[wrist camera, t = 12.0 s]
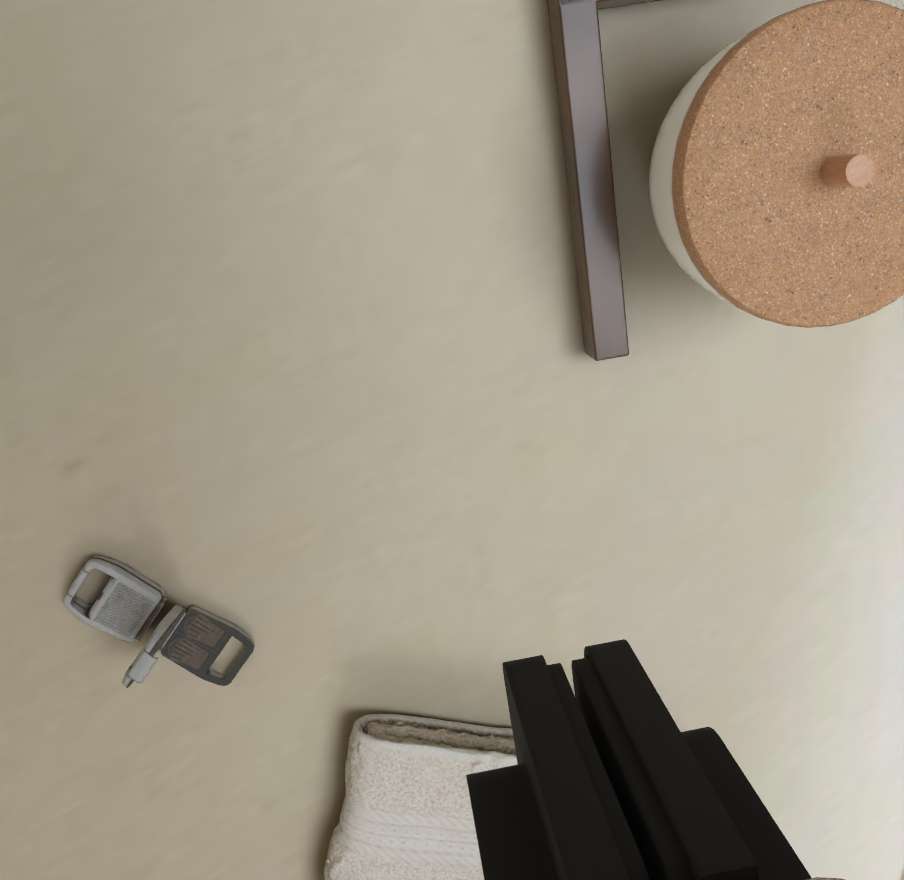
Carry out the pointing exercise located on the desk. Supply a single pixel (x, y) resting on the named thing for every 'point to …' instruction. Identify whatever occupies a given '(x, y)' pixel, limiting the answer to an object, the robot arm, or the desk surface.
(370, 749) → the washcloth
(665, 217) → the trinket box
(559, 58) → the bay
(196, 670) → the strap clip
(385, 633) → the desk surface
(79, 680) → the desk surface
